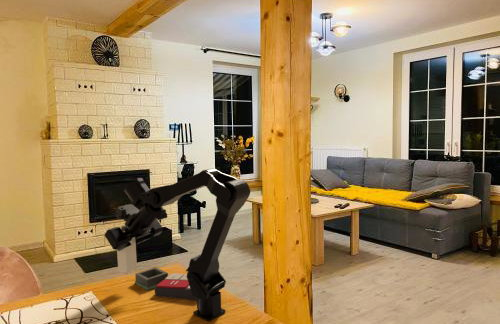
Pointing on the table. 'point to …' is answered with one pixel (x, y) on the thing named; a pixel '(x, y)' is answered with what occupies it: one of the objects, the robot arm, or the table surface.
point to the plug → (127, 257)
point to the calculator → (175, 287)
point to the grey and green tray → (150, 278)
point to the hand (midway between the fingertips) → (123, 247)
